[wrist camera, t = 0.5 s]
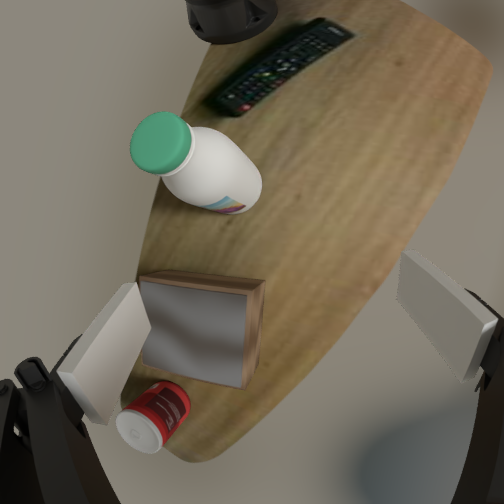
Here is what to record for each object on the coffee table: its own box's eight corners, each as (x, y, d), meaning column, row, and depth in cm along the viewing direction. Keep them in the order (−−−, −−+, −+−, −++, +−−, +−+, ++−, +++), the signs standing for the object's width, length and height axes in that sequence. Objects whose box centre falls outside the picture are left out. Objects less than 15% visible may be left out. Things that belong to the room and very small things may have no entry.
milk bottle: (227, 148, 37) (149, 79, 18) (274, 176, 36) (227, 113, 16) (197, 195, 38) (97, 164, 19) (241, 226, 37) (162, 214, 18)
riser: (167, 269, 40) (135, 276, 32) (265, 280, 37) (251, 291, 29) (167, 346, 41) (138, 365, 33) (258, 364, 38) (244, 392, 30)
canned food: (149, 406, 42) (115, 437, 32) (154, 371, 42) (114, 401, 31) (188, 424, 41) (158, 462, 30) (195, 390, 40) (162, 428, 29)
